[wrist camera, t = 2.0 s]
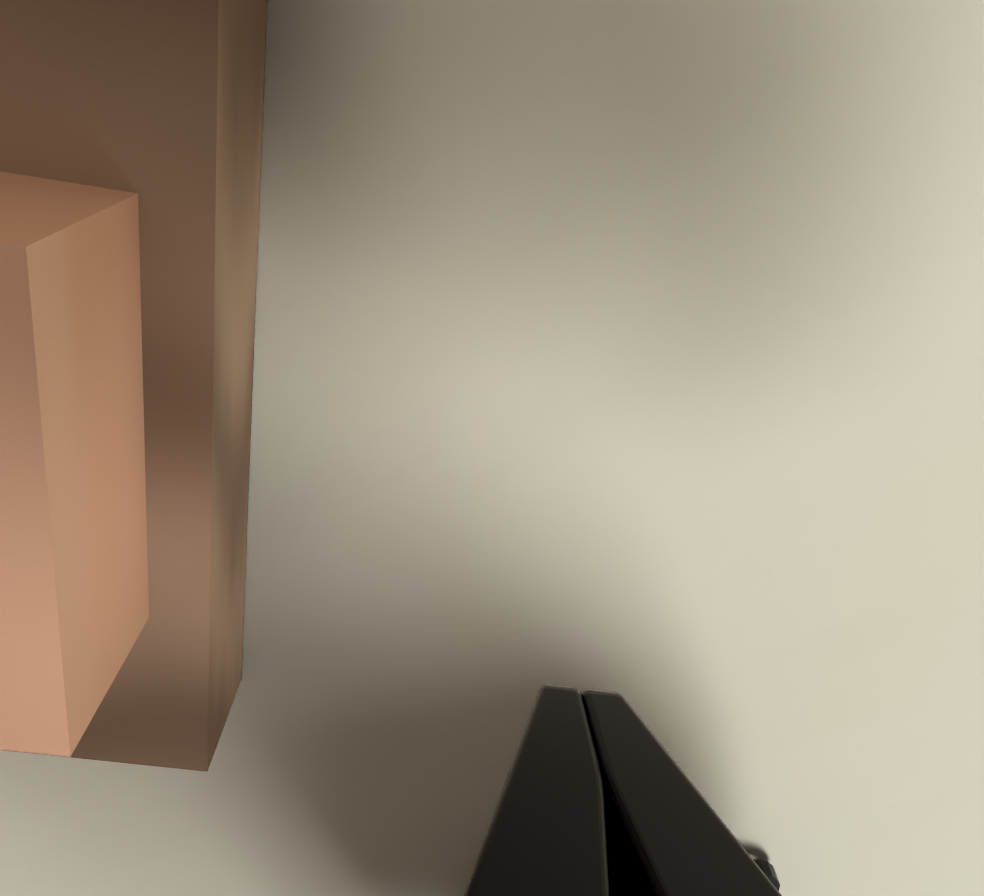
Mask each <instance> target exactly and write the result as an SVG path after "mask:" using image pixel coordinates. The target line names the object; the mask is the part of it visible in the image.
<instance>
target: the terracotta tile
mask: <svg viewBox="0 0 984 896" xmlns="http://www.w3.org/2000/svg"><path fill="white" fill-rule="evenodd" d="M148 618H149V596H148V557H147V519H146V480H145V442H144V403H143V365H142V326H141V288H140V249H139V211H138V193H132V192H126V191H120V190H114V189H107V188H101V187H95V186H89V185H83V184H76V183H70V182H64V181H58V180H52V179H45V178H39V177H33V176H27V175H21V174H14V173H8V172H2V171H0V750H9V751H18V752H28V753H38V754H47V755H57V756H66V757H71V755H72V753H73V751H74V750H75V748H76V746H77V744H78V743H79V741H80V739H81V737H82V735H83V734H84V732H85V730H86V728H87V727H88V725H89V723H90V721H91V719H92V718H93V716H94V714H95V712H96V711H97V709H98V707H99V705H100V704H101V702H102V700H103V698H104V696H105V695H106V693H107V691H108V689H109V688H110V686H111V684H112V682H113V680H114V679H115V677H116V675H117V673H118V672H119V670H120V668H121V666H122V664H123V663H124V661H125V659H126V657H127V656H128V654H129V652H130V650H131V649H132V647H133V645H134V643H135V641H136V640H137V638H138V636H139V634H140V633H141V631H142V629H143V627H144V625H145V624H146V622H147V620H148Z"/></svg>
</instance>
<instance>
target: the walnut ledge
mask: <svg viewBox="0 0 984 896" xmlns="http://www.w3.org/2000/svg"><path fill="white" fill-rule="evenodd" d="M266 14H267V0H0V171H2V172H8V173H14V174H21V175H27V176H33V177H39V178H45V179H52V180H58V181H64V182H70V183H76V184H83V185H89V186H95V187H101V188H107V189H114V190H120V191H126V192H132V193H138V211H139V249H140V288H141V326H142V365H143V403H144V442H145V480H146V519H147V557H148V596H149V618H148V620H147V622H146V624H145V625H144V627H143V629H142V631H141V633H140V634H139V636H138V638H137V640H136V641H135V643H134V645H133V647H132V649H131V650H130V652H129V654H128V656H127V657H126V659H125V661H124V663H123V664H122V666H121V668H120V670H119V672H118V673H117V675H116V677H115V679H114V680H113V682H112V684H111V686H110V688H109V689H108V691H107V693H106V695H105V696H104V698H103V700H102V702H101V704H100V705H99V707H98V709H97V711H96V712H95V714H94V716H93V718H92V719H91V721H90V723H89V725H88V727H87V728H86V730H85V732H84V734H83V735H82V737H81V739H80V741H79V743H78V744H77V746H76V748H75V750H74V751H73V753H72V755H71V757H73V758H83V759H92V760H102V761H111V762H121V763H131V764H140V765H150V766H159V767H169V768H179V769H188V770H198V771H208V768H209V766H210V763H211V760H212V757H213V755H214V752H215V749H216V746H217V744H218V741H219V738H220V736H221V733H222V730H223V727H224V725H225V722H226V719H227V717H228V714H229V711H230V708H231V706H232V703H233V700H234V698H235V695H236V692H237V689H238V687H239V684H240V681H241V678H242V651H243V625H244V598H245V571H246V545H247V518H248V492H249V465H250V439H251V412H252V386H253V359H254V333H255V306H256V280H257V253H258V227H259V200H260V174H261V147H262V121H263V94H264V67H265V41H266ZM6 751H9V750H6ZM15 752H18V751H15ZM25 753H28V752H25ZM35 754H38V753H35ZM44 755H47V754H44ZM54 756H57V755H54ZM63 757H66V756H63Z"/></svg>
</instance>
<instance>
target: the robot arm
mask: <svg viewBox="0 0 984 896" xmlns="http://www.w3.org/2000/svg"><path fill="white" fill-rule="evenodd" d="M779 887H780V884H779V881H778V878H777V875H776V873H775V870H774V868H773V865H771V864H770V863H768V862H766V861H762V860H754V859H752V858H751V856H750V855H749V854H748V853H747V851H746V850H745V849H744V848H743V846H742V845H741V844H740V843H739V841H738V840H737V839H736V838H735V836H734V835H733V834H732V833H731V831H730V830H729V829H728V828H727V826H726V825H725V824H724V823H723V821H722V820H721V819H720V818H719V816H718V815H717V814H716V813H715V811H714V810H713V809H712V808H711V806H710V805H709V804H708V803H707V801H706V800H705V799H704V798H703V796H702V795H701V794H700V792H699V791H698V790H697V789H696V787H695V786H694V785H693V784H692V782H691V781H690V780H689V779H688V777H687V776H686V775H685V774H684V772H683V771H682V770H681V769H680V767H679V766H678V765H677V764H676V762H675V761H674V760H673V759H672V757H671V756H670V755H669V754H668V752H667V751H666V750H665V749H664V747H663V746H662V745H661V744H660V742H659V741H658V740H657V739H656V737H655V736H654V735H653V734H652V732H651V731H650V730H649V729H648V727H647V726H646V725H645V724H644V722H643V721H642V720H641V719H640V717H639V716H638V715H637V714H636V712H635V711H634V710H633V709H632V707H631V706H630V705H629V704H628V702H627V701H626V700H625V699H624V698H623V696H621V695H620V694H619V693H616V692H612V691H603V690H595V689H584V690H582V691H581V692H580V691H579V690H578V689H576V688H575V687H570V686H561V685H553V684H544V685H542V686H541V687H540V689H539V691H538V694H537V696H536V699H535V702H534V705H533V707H532V710H531V713H530V716H529V718H528V721H527V724H526V727H525V729H524V732H523V735H522V738H521V740H520V743H519V746H518V749H517V751H516V754H515V757H514V759H513V762H512V765H511V768H510V770H509V773H508V776H507V779H506V781H505V784H504V787H503V790H502V792H501V795H500V798H499V801H498V803H497V806H496V809H495V812H494V814H493V817H492V820H491V823H490V825H489V828H488V831H487V834H486V836H485V839H484V842H483V845H482V847H481V850H480V853H479V856H478V858H477V861H476V864H475V867H474V869H473V872H472V875H471V878H470V880H469V883H468V886H467V889H466V891H465V894H464V896H782V895H781V894H780V893H779Z"/></svg>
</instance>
